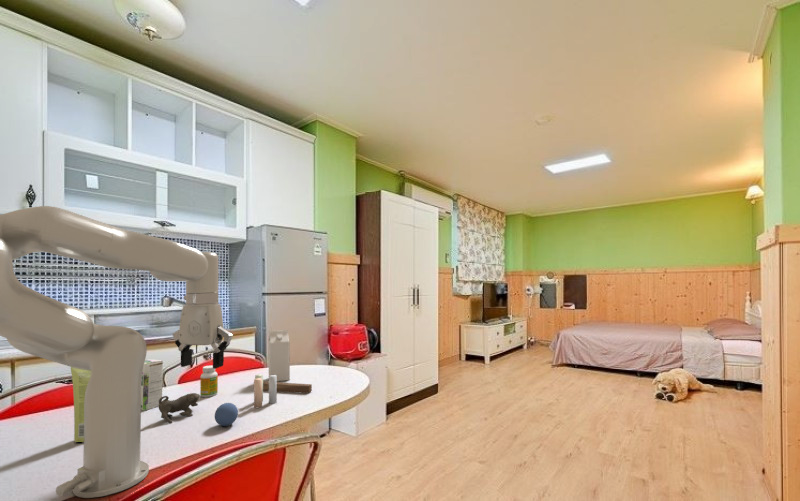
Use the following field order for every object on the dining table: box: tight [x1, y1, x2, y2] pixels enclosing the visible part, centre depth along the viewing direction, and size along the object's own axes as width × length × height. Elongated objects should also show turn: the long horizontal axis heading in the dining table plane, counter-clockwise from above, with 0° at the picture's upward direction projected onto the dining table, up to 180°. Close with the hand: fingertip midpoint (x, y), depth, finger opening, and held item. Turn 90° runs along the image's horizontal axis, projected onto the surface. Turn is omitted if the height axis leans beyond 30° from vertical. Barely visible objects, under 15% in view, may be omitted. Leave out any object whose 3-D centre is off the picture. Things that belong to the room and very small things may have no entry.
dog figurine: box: [158, 392, 200, 424], centre depth 116 cm, size 12×6×7 cm, turn 144°
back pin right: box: [268, 375, 278, 405], centre depth 127 cm, size 2×2×8 cm
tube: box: [70, 367, 91, 443], centre depth 102 cm, size 6×5×20 cm
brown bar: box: [263, 381, 313, 394], centre depth 139 cm, size 2×20×2 cm, turn 76°
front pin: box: [253, 378, 263, 409], centre depth 123 cm, size 2×2×8 cm
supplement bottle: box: [199, 364, 219, 398], centre depth 136 cm, size 5×5×10 cm
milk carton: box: [268, 329, 291, 382], centre depth 154 cm, size 7×7×19 cm
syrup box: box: [141, 358, 164, 411], centre depth 125 cm, size 6×6×14 cm
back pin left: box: [254, 373, 264, 403], centre depth 128 cm, size 2×2×8 cm
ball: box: [214, 402, 239, 427], centre depth 109 cm, size 6×6×6 cm
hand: (202, 366), depth 100 cm, fingers open, 9 cm apart
